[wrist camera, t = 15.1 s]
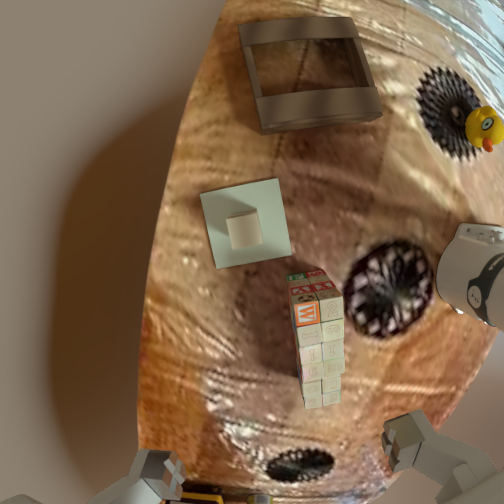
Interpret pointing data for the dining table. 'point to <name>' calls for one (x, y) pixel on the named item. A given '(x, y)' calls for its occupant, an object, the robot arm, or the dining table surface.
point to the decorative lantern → (199, 498)
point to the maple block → (244, 229)
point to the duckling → (484, 128)
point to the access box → (317, 101)
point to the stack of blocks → (317, 336)
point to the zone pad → (239, 200)
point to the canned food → (260, 499)
